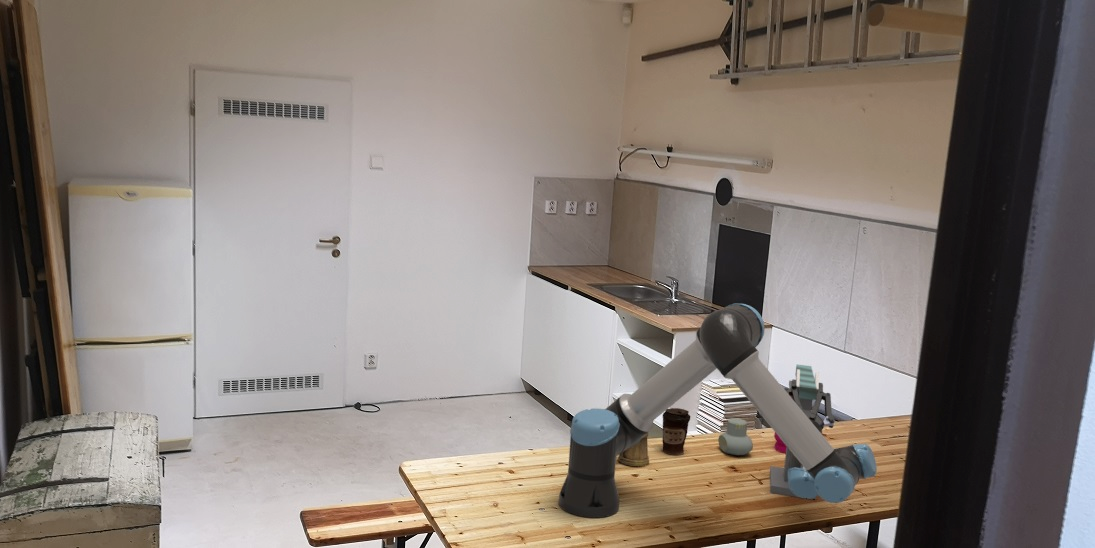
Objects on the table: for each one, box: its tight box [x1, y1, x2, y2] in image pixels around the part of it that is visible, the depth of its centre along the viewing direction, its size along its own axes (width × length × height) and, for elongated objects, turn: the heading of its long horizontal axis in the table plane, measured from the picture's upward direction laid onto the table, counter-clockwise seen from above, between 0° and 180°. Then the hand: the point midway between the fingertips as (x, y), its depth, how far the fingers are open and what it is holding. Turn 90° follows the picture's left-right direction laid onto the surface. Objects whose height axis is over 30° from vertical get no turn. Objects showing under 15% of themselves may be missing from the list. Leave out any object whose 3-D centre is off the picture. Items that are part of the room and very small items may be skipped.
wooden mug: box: [617, 432, 650, 468], centre depth 241 cm, size 9×14×18 cm, turn 117°
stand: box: [769, 379, 818, 501], centre depth 230 cm, size 16×12×28 cm
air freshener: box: [718, 417, 754, 456], centre depth 256 cm, size 11×8×10 cm
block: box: [795, 364, 817, 401], centre depth 224 cm, size 26×4×3 cm, turn 165°
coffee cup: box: [662, 407, 691, 456], centre depth 252 cm, size 9×8×13 cm
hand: (807, 374), depth 221 cm, fingers closed on block, 4 cm apart
